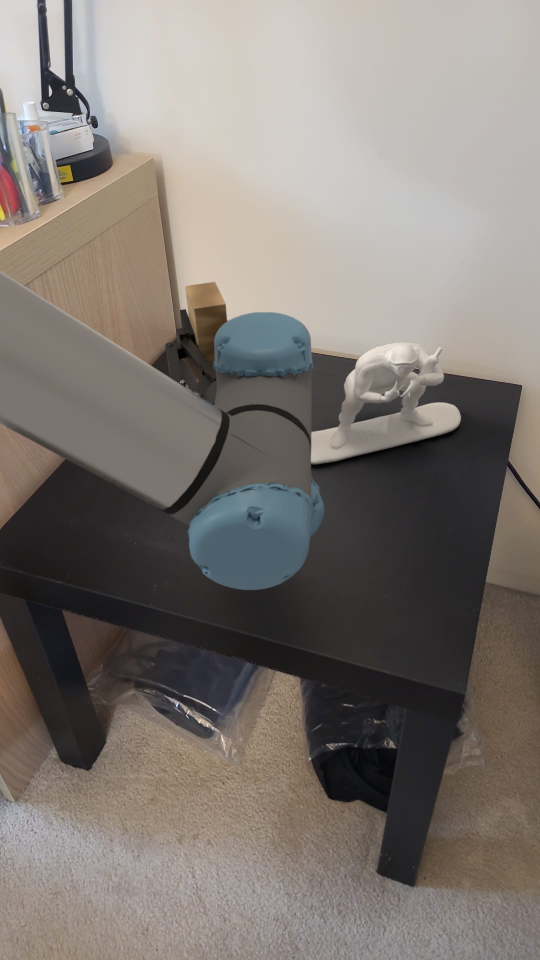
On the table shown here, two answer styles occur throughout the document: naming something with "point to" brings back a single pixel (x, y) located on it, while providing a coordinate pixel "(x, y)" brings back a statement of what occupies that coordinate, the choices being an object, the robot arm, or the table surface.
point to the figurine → (367, 383)
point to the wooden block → (205, 315)
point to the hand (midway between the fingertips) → (200, 317)
